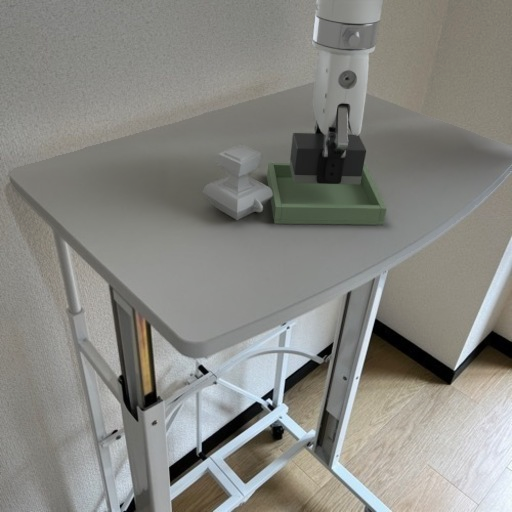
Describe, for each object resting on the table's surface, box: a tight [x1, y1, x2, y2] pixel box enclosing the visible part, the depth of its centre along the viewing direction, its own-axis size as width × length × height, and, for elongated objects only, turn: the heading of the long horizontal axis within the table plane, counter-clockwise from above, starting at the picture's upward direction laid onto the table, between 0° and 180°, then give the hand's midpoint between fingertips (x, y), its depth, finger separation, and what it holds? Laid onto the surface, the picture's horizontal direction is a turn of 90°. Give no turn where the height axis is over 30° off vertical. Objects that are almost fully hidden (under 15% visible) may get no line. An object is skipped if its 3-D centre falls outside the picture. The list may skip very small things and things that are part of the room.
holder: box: [266, 162, 387, 226], centre depth 77 cm, size 15×13×3 cm
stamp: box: [202, 143, 273, 221], centre depth 72 cm, size 9×7×8 cm
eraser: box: [289, 132, 367, 185], centre depth 74 cm, size 9×5×5 cm, turn 93°
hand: (325, 171), depth 75 cm, fingers closed on eraser, 5 cm apart
